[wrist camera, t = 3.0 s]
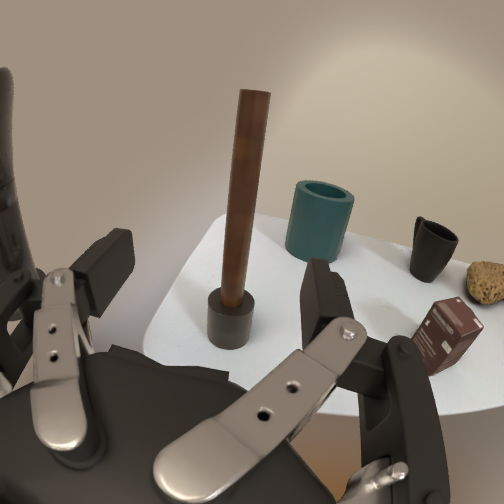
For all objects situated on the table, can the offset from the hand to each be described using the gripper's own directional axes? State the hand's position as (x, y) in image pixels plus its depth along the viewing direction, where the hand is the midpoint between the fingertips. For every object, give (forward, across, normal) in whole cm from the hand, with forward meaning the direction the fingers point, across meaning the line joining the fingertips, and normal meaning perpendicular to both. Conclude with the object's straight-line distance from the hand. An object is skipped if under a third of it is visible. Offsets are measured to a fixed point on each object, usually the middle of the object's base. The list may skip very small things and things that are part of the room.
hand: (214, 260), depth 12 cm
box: (+10, -26, +17) cm, 33 cm away
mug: (+32, -34, +17) cm, 49 cm away
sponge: (+25, -52, +17) cm, 60 cm away
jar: (+33, -11, +16) cm, 38 cm away
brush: (+11, 0, +16) cm, 20 cm away
